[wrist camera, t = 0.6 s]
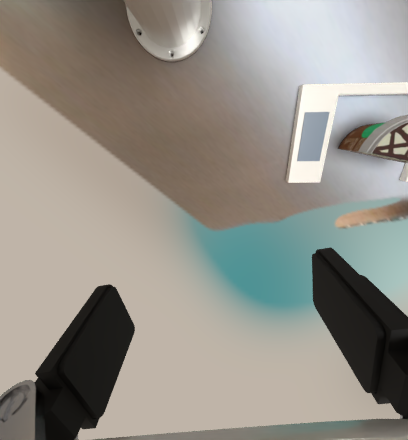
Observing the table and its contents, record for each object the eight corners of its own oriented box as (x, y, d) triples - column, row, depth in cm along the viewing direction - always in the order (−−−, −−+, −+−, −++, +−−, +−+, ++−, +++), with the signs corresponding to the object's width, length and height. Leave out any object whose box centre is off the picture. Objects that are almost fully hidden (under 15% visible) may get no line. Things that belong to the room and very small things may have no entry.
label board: (299, 86, 35) (303, 84, 33) (472, 82, 34) (485, 80, 33) (285, 180, 42) (288, 182, 40) (430, 179, 41) (439, 181, 39)
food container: (411, 125, 37) (477, 124, 28) (392, 160, 39) (447, 170, 30) (345, 110, 36) (391, 104, 27) (330, 146, 39) (367, 153, 30)
